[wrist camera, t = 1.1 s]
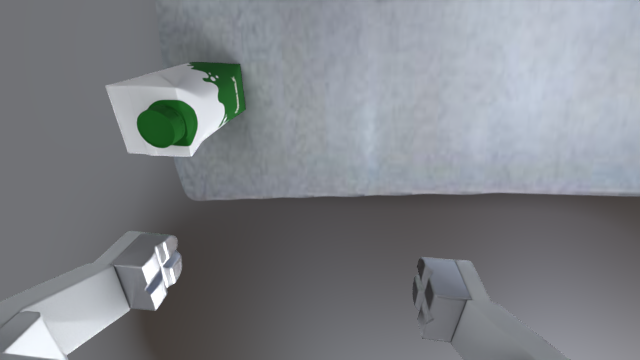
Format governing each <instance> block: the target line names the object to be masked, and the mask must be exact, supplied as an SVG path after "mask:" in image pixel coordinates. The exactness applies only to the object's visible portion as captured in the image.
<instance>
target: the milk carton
mask: <svg viewBox="0 0 640 360" xmlns="http://www.w3.org/2000/svg"><path fill="white" fill-rule="evenodd" d="M106 89H107V92H108V95H109V98H110V101H111V104H112V107H113V110H114V112H115V116H116V118H117V122H118V124H119V127H120V130H121V133H122V136H123V139H124V142H125V145H126V148H127V151H128V153H139V154H148V155H153V156H157V155H162V156H184V157H191V156H193V154H194V153H195V151H196V150H197V148H198V147H199V145H200V143H201V142H202V141H203V140H205V139H206V138H207V137H209V136H210V135H211V134H212V133H214V132H215V131H216V130H218V129H219V128H220V127H222V126H223V125H224V124H226V123H227V122H228V121H230V120H231V119H233V118H234V117H236V116H237V115H238V114H240V113H241V112H243V111H244V110H246V108H245V100H244V92H243V84H242V76H241V68H240V64H228V63H208V62H191V63H186V64H182V65H178V66H175V67H171V68H167V69H164V70H160V71H157V72H154V73H147V74H145V75H142V76H140V77H137V78H133V79H129V80H125V81H122V82H118V83H114V84H110V85H106Z"/></svg>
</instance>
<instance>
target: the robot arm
mask: <svg viewBox="0 0 640 360" xmlns="http://www.w3.org/2000/svg"><path fill="white" fill-rule="evenodd" d="M177 246H178V242H177V239H176V237H175V236H172V235H164V234H156V233H146V232H145V233H144V232H135V231H130V232H127V233H126V234H124V235H123V236H122V237H121V238H120V239H119V240H118V241H117V242H116V243H115V244H114V245H112V246H111V247H110V248H109V249H108V250H107V251H106V252H105V253H104V254H103V255H102V256H100V257H99V258H98V259H97V260H96V261H95V262H94V263H93V264H91V263H87V264H85V265H83V266H81V267H78V268H76V269H74V270H71V271H69V272H67V273H64V274H62V275H60V276H58V277H55V278H53V279H51V280H49V281H46V282H44V283H42V284H40V285H37V286H35V287H32V288H30V289H28V290H26V291H24V292H21V293H19V294H16V295H14V296H12V297H10V298H7V299H5V300H3V301H1V302H0V360H68V358H67V356H66V355H67V354H69V353H70V352H72V351H73V350H74V349H76V348H77V347H79V346H80V345H81V344H83V343H84V342H86V341H87V340H88V339H90V338H91V337H92V336H94V335H95V334H97V333H98V332H100V331H101V330H103V329H104V328H105V327H107V326H108V325H110V324H111V323H112V322H114V321H115V320H117V319H118V318H119V317H121V316H122V315H124V314H125V313H126V312H128V311H129V310H130V308H132V309H145V310H157V308H158V307H159V305H160V304H161V302H162V301H163V300H164V298H165V297H166V295H167V287H169V286H171V285H172V284H174V283H175V282H176V280H177V279H178V277H179V275H180V272H181V269H182V258H181V255H180V254H179V253H178V252H177V251H176V250H175V249H176V248H177ZM417 268H418V272H419V274H418V275H416V276H415V277H414V282H413V301H414V305H415V307H416V308H417V310H418V311H419V315H418V324H419V328H420V332H421V337H422V339H429V340H437V341H444V342H451V345H452V346H453V347H454V348H455V350H456V351H457V352H458V353H459V355H460V356H461V357H462V358H463V359H464V360H570V359H569V358H567V357H566V356H565V355H564V354H562V353H561V352H560V351H559V350H557V349H556V348H555V347H553V346H552V345H551V344H549V343H548V342H547V341H546V340H544V339H543V338H542V337H541V336H539V335H538V334H537V333H535V332H534V331H533V330H532V329H530V328H529V327H528V326H526V325H525V324H524V323H523V322H521V321H520V320H519V319H518V318H516V317H515V316H514V315H512V314H511V313H510V312H508V311H507V310H506V309H505V308H503V307H502V306H501V305H499V304H498V303H494V302H492V301H491V299H490V297H489V295H488V293H487V291H486V289H485V287H484V286H483V284H482V281H481V280H480V278H479V276H478V274H477V272H476V270H475V268H474V266H473V264H472V262H470V261H468V260H449V259H437V258H425V257H420V259H419V261H418V265H417Z"/></svg>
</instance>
